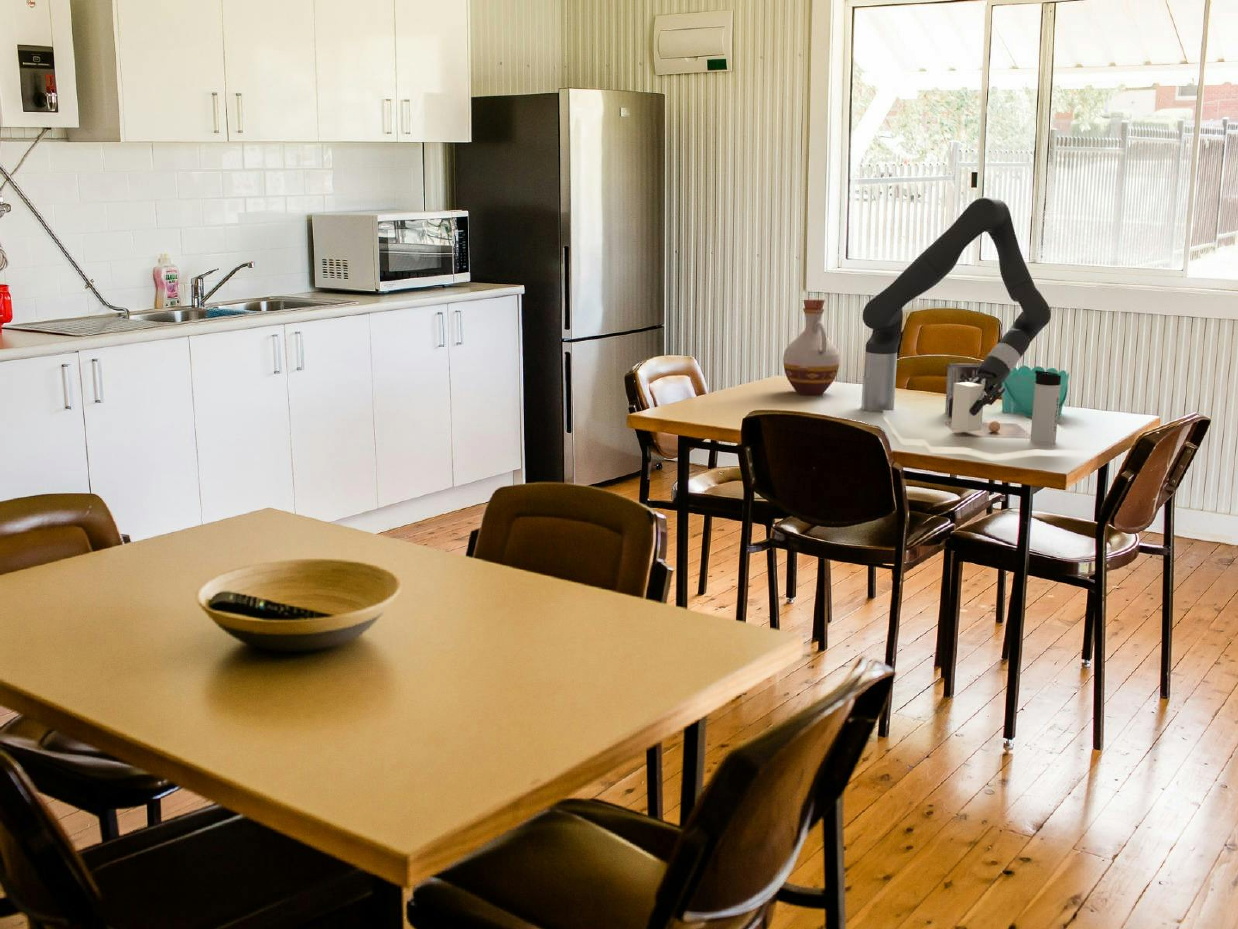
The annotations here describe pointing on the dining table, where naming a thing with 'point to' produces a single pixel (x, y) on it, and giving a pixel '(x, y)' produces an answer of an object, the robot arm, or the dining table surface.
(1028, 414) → the basket
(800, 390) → the jug
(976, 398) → the cream tall block
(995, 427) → the ball
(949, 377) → the coffee box
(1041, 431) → the travel mug
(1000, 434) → the board
